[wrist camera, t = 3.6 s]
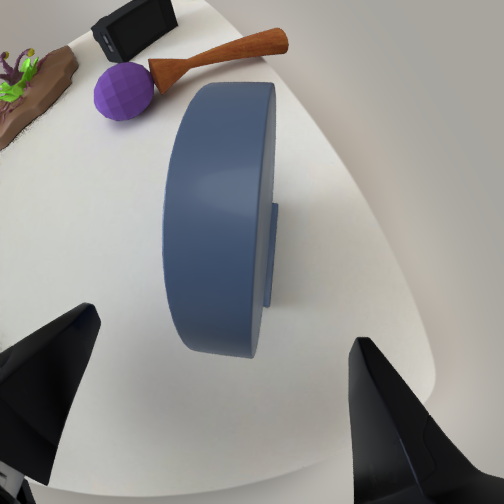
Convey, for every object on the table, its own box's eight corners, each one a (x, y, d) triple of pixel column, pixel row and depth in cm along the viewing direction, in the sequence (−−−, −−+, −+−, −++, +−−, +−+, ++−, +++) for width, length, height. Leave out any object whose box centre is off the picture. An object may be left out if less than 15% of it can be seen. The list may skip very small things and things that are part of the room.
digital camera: (155, 23, 29) (143, -9, 22) (178, 25, 28) (168, -11, 21) (104, 61, 27) (85, 27, 20) (124, 64, 26) (105, 26, 19)
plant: (81, 42, 31) (58, 3, 20) (77, 89, 26) (39, 35, 15) (5, 101, 30) (-23, 71, 19) (-13, 167, 25) (-56, 135, 14)
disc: (265, 344, 17) (258, 397, 5) (217, 339, 17) (117, 369, 5) (280, 177, 20) (286, 28, 8) (237, 174, 20) (206, 30, 8)
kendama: (301, 37, 20) (89, 108, 17) (288, 74, 25) (112, 141, 23) (270, 8, 20) (81, 70, 17) (263, 44, 26) (101, 103, 23)
